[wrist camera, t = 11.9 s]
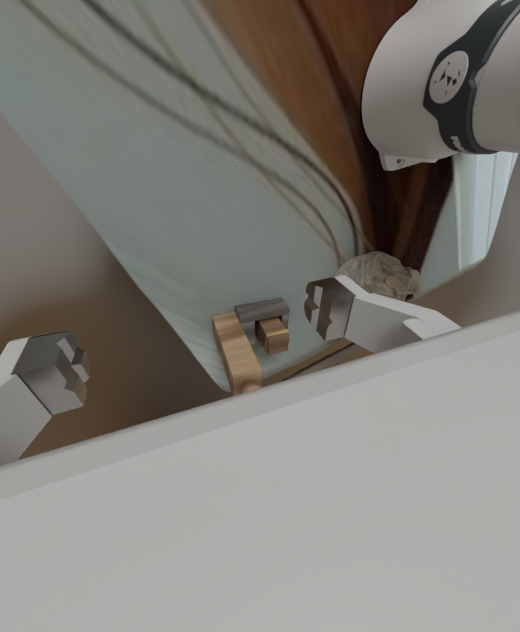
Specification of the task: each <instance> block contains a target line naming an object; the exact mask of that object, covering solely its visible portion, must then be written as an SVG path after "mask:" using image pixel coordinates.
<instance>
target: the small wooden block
mask: <svg viewBox="0 0 520 632" xmlns="http://www.w3.org/2000/svg"><path fill="white" fill-rule="evenodd" d="M255 331H256V333H257V335H258V337H259V339H260V341H261V343H262V345H263V346H264V348H265V349H264V350H265V352H266V353H267V354H268V355H271V354H275V353H279V352H283V351H287V350H288V343H289V333H288V330H287V329H285V327H284V326H283V324H282V323H281V321H280V320H279V318H278V317H272V318H267V319H262V320H257V321H255Z"/></svg>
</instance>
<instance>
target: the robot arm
mask: <svg viewBox="0 0 520 632" xmlns="http://www.w3.org/2000/svg"><path fill="white" fill-rule="evenodd" d="M362 119H363V124H364V128H365V132H366V134H367V137H368V138H369V140H370V142H371V143H372V144H373V146H374V147H375V148H376V149H377V151H378V153H379V156H380V161H381V165H382V167H383V169H384V170H385V171H394V170H397V169H401V168H404V167H408V166H411V165H414V164H418V163H421V162H429V163H434V162H436V161H437V160H438V159H442V158H445V157H448V156H451V155H453V154H456V153H459V152H464V153H466V154H474V155H476V154H493V153H497V152H500V151H504V152H514V153H520V0H418V1H417V3H416V4H415V5H414V7H413V8H412V9H411V10H409V11H408V12H407V13H406V14H405V15H403V16H402V17H401V18H400V19H399V20H398V21H397V22H396V23H395V24H394V25H393V26H392V27H391V28H390V29H389V31H388V32H387V33H386V35H385V36H384V38H383V39H382V41H381V42H380V44H379V46H378V48H377V50H376V52H375V54H374V56H373V58H372V61H371V63H370V66H369V69H368V72H367V75H366V79H365V83H364V89H363V96H362ZM398 159H399V160H398ZM397 160H398V162H397ZM306 293H307V294H308V298H307V299H306V300H305V304H304V310H305V315H306V317H307V319H308V321H309V322H310V323H311V324H313V325H315V326H317V329H316V331H317V332H318V333H319V334H320V336H321V337H322V338H323V339H324V341H328V340H332V339H336V338H341V337H344V338H346V339H348V340H350V341H352V342H354V343H356V344H358V345H360V346H361V347H363V348H365V349H367V350H369V351H371V352H373V353H375V354H373V355H370V356H367V357H363V358H360V359H357V360H353V361H350V362H347V363H343V364H340V365H337V366H333V367H330V368H326V369H323V370H320V371H316V372H313V373H310V374H306V375H303V376H299V377H296V378H293V379H289V380H286V381H283V382H279V383H276V384H273V385H269V386H266V387H263V388H259V389H256V390H252V391H249V392H246V393H242V394H239V395H236V396H232V397H229V398H226V399H222V400H219V401H216V402H212V403H209V404H206V405H202V406H199V407H196V408H193V409H190V410H186V411H182V412H179V413H176V414H172V415H169V416H166V417H162V418H159V419H156V420H152V421H149V422H146V423H143V424H139V425H135V426H132V427H129V428H125V429H122V430H119V431H115V432H112V433H109V434H106V435H102V436H99V437H96V438H92V439H89V440H85V441H82V442H79V443H75V444H72V445H69V446H65V447H62V448H59V449H55V450H52V451H48V452H45V453H42V454H39V455H35V456H32V457H28V458H25V459H22V460H19V461H16V460H17V459H18V458H19V457H20V456H21V454H22V453H23V452H24V450H25V449H26V448H27V447H28V446H29V444H30V443H31V442H32V441H33V439H34V438H35V437H36V436H37V434H38V433H39V432H40V431H41V430H42V428H43V427H44V426H45V425H46V423H47V422H48V421H49V420H50V419H51V417H52V416H51V415H54V414H57V413H61V412H65V411H68V410H71V409H74V408H78V407H81V406H84V401H85V396H86V391H87V388H86V386H85V385H84V383H85V382H86V380H87V379H88V378H89V376H90V363H89V360H88V357H87V355H86V353H85V351H84V350H83V349H81V348H79V347H77V342H78V339H77V337H76V335H75V334H74V332H72V331H71V330H65V331H60V332H55V333H49V334H43V335H39V336H33V337H27V338H22V339H18V340H13V341H11V342H9V343H8V344H7V346H6V347H5V349H4V351H3V352H2V354H1V356H0V632H520V311H517V312H514V313H510V314H507V315H504V316H500V317H497V318H494V319H490V320H487V321H484V322H480V323H477V324H474V325H470V326H467V327H463V328H461V327H460V326H458V325H457V324H455V323H454V322H452V321H451V320H449V319H448V318H446V317H445V316H443V315H441V314H440V313H439V312H437V311H435V310H431V309H427V308H424V307H420V306H417V305H413V304H410V303H406V302H403V301H399V300H395V299H392V298H388V297H385V296H381V295H378V294H374V293H371V294H369V293H368V292H366V291H365V290H364V289H362V288H361V287H360V286H359V285H357V284H356V283H355V282H354V281H352V280H351V279H350V278H348V277H347V276H346V275H339V276H334V277H331V278H327V279H322V280H317V281H313V282H308V284H307V286H306Z"/></svg>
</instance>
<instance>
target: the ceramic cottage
mask: <svg viewBox="0 0 520 632" xmlns="http://www.w3.org/2000/svg"><path fill="white" fill-rule="evenodd" d="M339 275H346V276H347V277H348V278H350V279H351V280H352V281H354V282H355V283H356V284H357V285H359V286H360V287H361V288H362V289H364V290H365V291H366V292H368V293H369V294H371V293H374V294H378V295H381V296H385V297H388V298H392V299H395V300H399V301H403V302H404V300H405V297H406V295H408V294H412V293H415V294H416V293H421V292H422V290H423V289H422V285H421V284H420V277H419V273H418V271H417V270H411V268H410V267H407V268H405V267H404V266H402V264H401V263H400V261H399V260H398V259H397V258H395V257H393V256H390V255H388V254H385V253H383V252H379V251H374V252H369V253H366V254H362V255H359V256H356V257H354V258H351V259H350V260H348V261H347V262H345V263H344V264H343V265H342V266H341V267H340V268H339V269H338V270H337V271H336V273H335V274H334V275H333V277H334V276H339Z"/></svg>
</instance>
